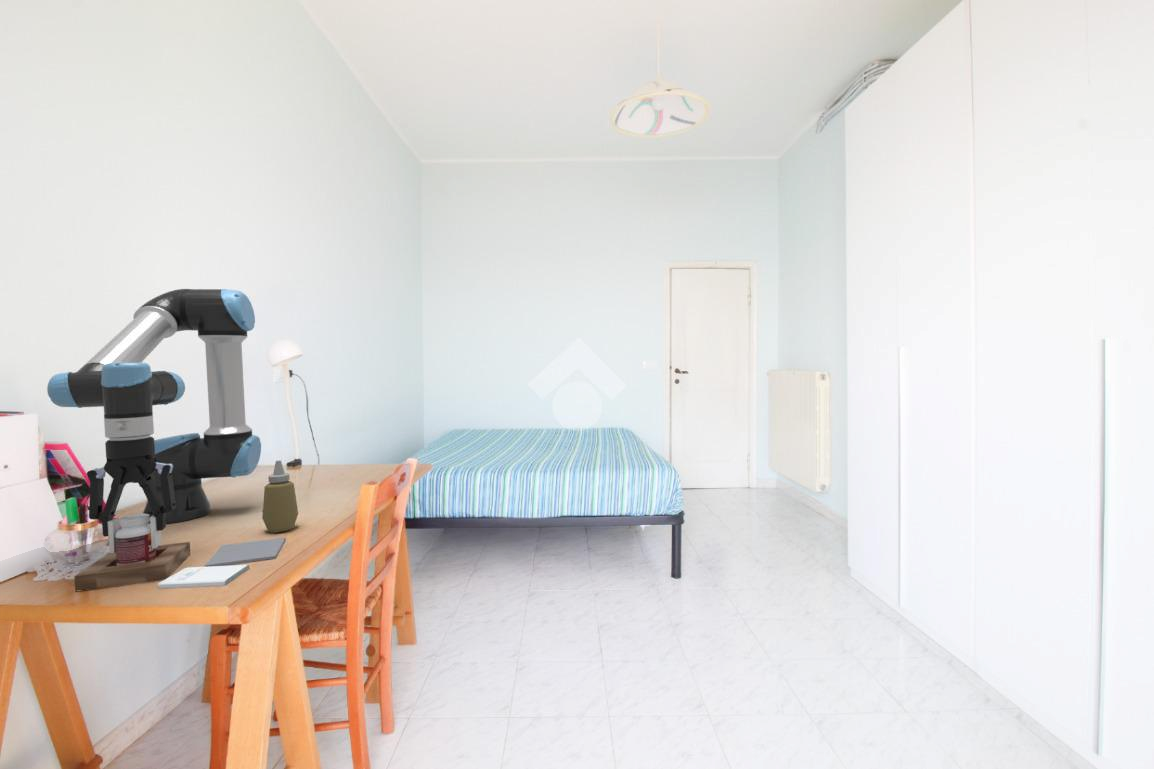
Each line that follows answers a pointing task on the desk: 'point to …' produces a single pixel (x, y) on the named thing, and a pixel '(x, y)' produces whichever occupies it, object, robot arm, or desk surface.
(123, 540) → the pill bottle
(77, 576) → the walnut frame
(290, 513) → the squeeze bottle
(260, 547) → the grey mat
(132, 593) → the desk surface
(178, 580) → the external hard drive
